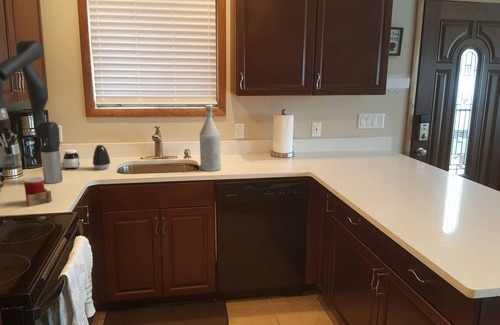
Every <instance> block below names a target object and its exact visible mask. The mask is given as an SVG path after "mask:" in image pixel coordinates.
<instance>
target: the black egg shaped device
mask: <svg viewBox="0 0 500 325" xmlns="http://www.w3.org/2000/svg"><path fill="white" fill-rule="evenodd" d="M107 150H108V149H106V147H105V146H104V145H102V144H99V145H98V144H97V145H96V147H95V149H94V151H93V156H92V165H93V167H94V168H95V169H96V170H98V171H103V170H104V169H105V170H107V169H109V167H110V166H111V158H110V156H109V153H108V151H107Z"/></svg>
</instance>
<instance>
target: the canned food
mask: <svg viewBox="0 0 500 325" xmlns="http://www.w3.org/2000/svg"><path fill="white" fill-rule="evenodd" d="M23 184H24V185H23V186H24V190H25V192H24V194H25V199H26V200H25V201H26V203H27V204H28V197H27V195H32V194H38V193H43V192H45V190H44V188H45V183H44V177H36V176H35V177H30V178H29V177H28V178H26V179H24V180H23Z"/></svg>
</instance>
